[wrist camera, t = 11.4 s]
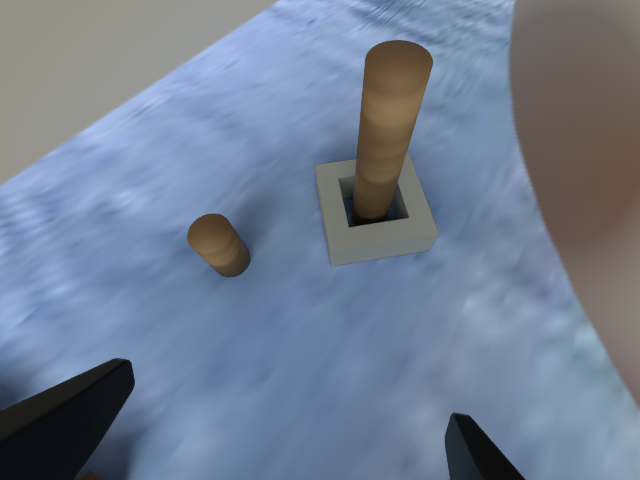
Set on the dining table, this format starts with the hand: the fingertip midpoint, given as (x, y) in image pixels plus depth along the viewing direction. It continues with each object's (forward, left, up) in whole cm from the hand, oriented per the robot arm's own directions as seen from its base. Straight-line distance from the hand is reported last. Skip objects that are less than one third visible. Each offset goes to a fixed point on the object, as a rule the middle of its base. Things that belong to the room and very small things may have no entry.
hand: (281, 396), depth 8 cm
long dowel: (+13, -7, -14) cm, 20 cm away
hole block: (+13, -7, -14) cm, 20 cm away
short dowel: (+11, +5, -14) cm, 18 cm away
